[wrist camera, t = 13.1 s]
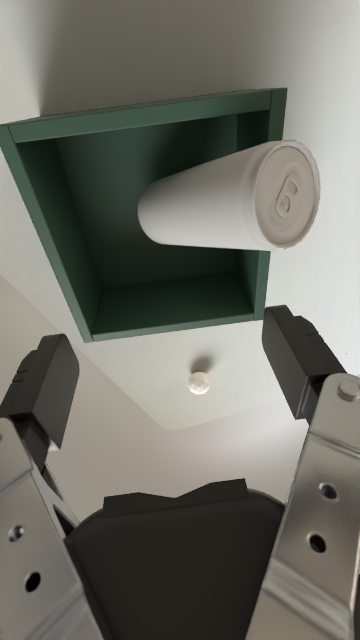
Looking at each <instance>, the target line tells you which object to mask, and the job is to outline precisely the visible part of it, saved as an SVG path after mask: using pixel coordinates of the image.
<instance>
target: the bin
mask: <svg viewBox="0 0 360 640" xmlns="http://www.w3.org/2000/svg"><path fill="white" fill-rule="evenodd" d="M286 98H287V88H268V89H249V90H239V91H232V92H224V93H217V94H209V95H201V96H194V97H186V98H179V99H171V100H163V101H156V102H148V103H141V104H133V105H125V106H118V107H110V108H103V109H95V110H87V111H80V112H72V113H64V114H57V115H49V116H42V117H36V118H31V119H26V120H21V121H16V122H11V123H6V124H1V125H0V147H1V150H2V152H3V154H4V157H5V159H6V161H7V164H8V166H9V168H10V171H11V173H12V175H13V178H14V180H15V182H16V185H17V187H18V189H19V192H20V194H21V196H22V199H23V201H24V203H25V206H26V208H27V210H28V213H29V215H30V217H31V220H32V222H33V224H34V227H35V229H36V231H37V234H38V236H39V238H40V241H41V243H42V245H43V248H44V250H45V252H46V255H47V257H48V259H49V262H50V264H51V266H52V269H53V271H54V273H55V276H56V278H57V280H58V283H59V285H60V287H61V290H62V292H63V294H64V297H65V299H66V301H67V304H68V306H69V308H70V311H71V313H72V315H73V318H74V320H75V322H76V325H77V327H78V329H79V332H80V334H81V336H82V339H83V341H84V343H88V342H94V341H95V342H96V341H103V340H111V339H118V338H126V337H134V336H141V335H149V334H156V333H164V332H172V331H179V330H187V329H194V328H202V327H210V326H217V325H225V324H232V323H240V322H248V321H253V320H254V321H257V320H263V319H264V310H265V300H266V290H267V281H268V271H269V262H270V252H271V251H265V250H249V249H233V248H216V247H200V246H184V245H168V244H160V243H157V242H155V241H153V240H152V239H151V238H149V237H148V236H147V234H146V233H145V232H144V231H143V229H142V227H141V224H140V222H139V218H138V202H139V199H140V195H141V194H142V192H143V191H144V189H145V188H146V187H147V186H149V185H150V184H151V183H153V182H155V181H157V180H159V179H162V178H165V177H168V176H170V175H173V174H176V173H179V172H182V171H184V170H187V169H190V168H193V167H195V166H198V165H201V164H204V163H207V162H210V161H213V160H216V159H219V158H222V157H225V156H228V155H231V154H234V153H237V152H240V151H243V150H246V149H249V148H252V147H255V146H258V145H261V144H264V143H267V142H271V141H282V136H283V127H284V117H285V108H286Z"/></svg>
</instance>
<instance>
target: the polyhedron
mask: <svg viewBox="0 0 360 640" xmlns="http://www.w3.org/2000/svg"><path fill="white" fill-rule="evenodd" d="M188 386H189V388H190V390H191V391H192V392H193V393H195V394H197V395H198V394H204V393H205V392H206V391H207V390H208V389H209V388H210V379H209V377H208V376H207V374H205V373H203V372H195V373H193V374H192V375H191V376H190V377H189V380H188Z"/></svg>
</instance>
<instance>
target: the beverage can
mask: <svg viewBox="0 0 360 640" xmlns="http://www.w3.org/2000/svg"><path fill="white" fill-rule="evenodd" d="M319 200H320V179H319V172H318V168H317V165H316V162H315V159H314V158H313V156H312V154H311V152H310V151H309V150H308V149H307V148H306V147H305V146H304V145H303V144H302V143H299V142H297V141H295V140H285V141H271V142H267V143H264V144H261V145H258V146H255V147H252V148H249V149H246V150H243V151H240V152H237V153H234V154H231V155H228V156H225V157H222V158H219V159H216V160H213V161H210V162H207V163H204V164H201V165H198V166H195V167H193V168H190V169H187V170H184V171H182V172H179V173H176V174H173V175H170V176H168V177H165V178H162V179H159V180H157V181H155V182H153V183H151V184H150V185H149V186H147V187H146V188H145V189H144V191H143V192H142V194H141V195H140V199H139V202H138V218H139V222H140V224H141V227H142V229H143V231H144V232H145V233H146V234H147V236H148V237H149V238H151V239H152V240H153V241H155V242H157V243H160V244H168V245H184V246H200V247H216V248H233V249H249V250H265V251H274V250H278V249H286V248H289V247H293V246H295V245H296V244H297V243H299V242H300V241H301V240H302V239H303V238H304V237H305V236H306V234H307V233H308V232H309V230H310V228H311V226H312V224H313V222H314V220H315V217H316V214H317V211H318V205H319Z"/></svg>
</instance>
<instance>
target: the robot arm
mask: <svg viewBox="0 0 360 640" xmlns="http://www.w3.org/2000/svg"><path fill="white" fill-rule="evenodd" d="M262 344H263V348H264V351H265V353H266V356H267V358H268V360H269V362H270V365H271V367H272V369H273V371H274V374H275V376H276V378H277V380H278V382H279V385H280V387H281V389H282V391H283V394H284V396H285V398H286V400H287V403H288V405H289V407H290V409H291V412H292V414H293V416H294V418H295V420H297V419H305V418H306V420H307V422H308V424H309V429H308V432H307V435H306V438H305V441H304V444H303V448H302V451H301V454H300V457H299V460H298V464H297V468H296V470H295V473H294V477H293V480H292V483H291V486H290V489H289V492H288V495H287V498H286V502H285V504H283V503H282V502H280V501H279V500H277V499H275V498H274V497H272V496H270V495H268V494H266V493H264V492H261V491H258V490H254V489H249V488H247V486H246V482H245V479H244V478H243V479H235V480H229V481H220V482H213V483H209V484H207V485H204V486H202V487H200V488H198V489H195V490H193V491H191V492H188V493H186V494H184V495H182V496H179V497H177V498H170V497H164V496H158V495H152V494H145V493H140V492H138V493H130V494H123V495H115V496H108V497H104V504H103V508H102V509H100V510H98V511H97V512H95V513H93V514H92V515H90V516H89V517H87V518H86V519H85V520H83V521H82V522H81V523H80V521H79V520H78V518H77V517H76V515H75V514H74V512H73V511H72V510H71V508H70V506H69V505H68V503H67V501H66V499H65V497H64V495H63V493H62V491H61V489H60V487H59V485H58V484H57V482H56V480H55V478H54V476H53V474H52V472H51V470H50V468H49V466H48V464H47V463H46V462H45V460H46V457H47V453H48V452H49V451H57V450H60V448H61V444H62V440H63V436H64V432H65V428H66V424H67V420H68V416H69V412H70V408H71V404H72V400H73V397H74V393H75V389H76V385H77V380H78V376H79V362H78V360H77V357H76V355H75V353H74V351H73V349H72V347H71V344H70V342H69V340H68V338H67V336H66V335H65V334H56V335H48V336H44V337H43V338H42V339H41V341H40V344H39V346H38V348H37V350H33V351H31V352H30V353H29V354H28V355H27V356H26V357H25V358H24V359H23V360H22V362H21V364H20V366H19V368H18V370H17V374H16V375H15V376H14V379H13V380H12V384H11V385H10V387H9V389H8V391H7V393H6V395H5V397H4V399H3V401H2V403H1V405H0V640H360V574H359V567H360V378H359V377H357V376H354V375H351V374H348V373H347V372H346V371H345V369H344V368H343V367H342V365H341V364H340V362H339V361H338V360H337V358H336V357H335V355H334V354H333V352H332V351H331V350H330V348H329V347H328V345H327V344H326V343H324V340H323V338H322V337H321V336H320V335H319V334H318V331H317V330H316V329H315V327H314V326H313V324H312V323H311V322H309V321H308V320H306V319H305V318H303V317H302V316H293V314H292V313H291V311H290V310H289V308H288V307H287V306H286V305H279V306H271V307H266V308H265V311H264V320H263V329H262Z"/></svg>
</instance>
